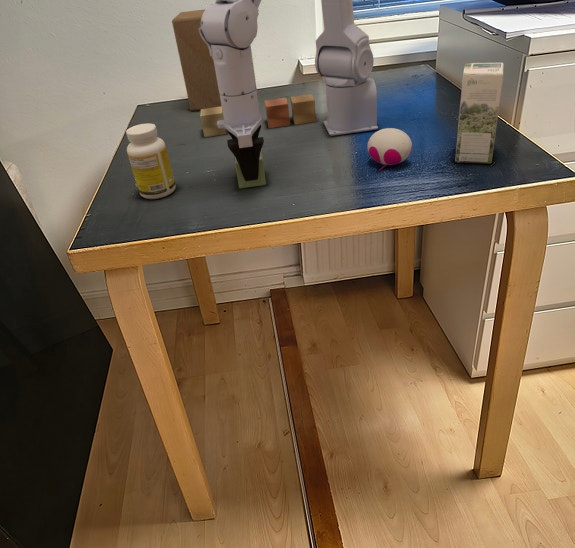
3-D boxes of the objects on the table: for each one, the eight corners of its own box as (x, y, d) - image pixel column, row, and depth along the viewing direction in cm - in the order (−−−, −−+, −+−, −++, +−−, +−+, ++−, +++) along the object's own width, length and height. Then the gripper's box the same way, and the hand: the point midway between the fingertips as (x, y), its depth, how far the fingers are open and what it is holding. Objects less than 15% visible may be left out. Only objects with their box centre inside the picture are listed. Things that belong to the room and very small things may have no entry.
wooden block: (232, 107, 122) (216, 14, 111) (190, 111, 123) (170, 19, 111) (236, 95, 130) (222, 7, 119) (197, 99, 131) (179, 12, 119)
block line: (313, 115, 112) (311, 93, 109) (316, 121, 108) (314, 100, 105) (204, 130, 111) (200, 109, 109) (204, 137, 107) (200, 115, 105)
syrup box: (492, 150, 87) (504, 60, 79) (491, 165, 83) (504, 71, 74) (457, 149, 89) (465, 61, 81) (454, 163, 85) (462, 71, 76)
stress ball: (365, 181, 90) (352, 159, 85) (382, 142, 92) (370, 119, 86) (405, 187, 86) (394, 165, 81) (422, 147, 88) (413, 122, 82)
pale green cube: (264, 173, 89) (260, 149, 87) (266, 184, 86) (262, 159, 83) (238, 177, 89) (234, 152, 87) (239, 188, 85) (234, 163, 83)
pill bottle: (161, 181, 91) (144, 119, 85) (183, 188, 88) (168, 124, 81) (132, 195, 88) (113, 132, 81) (155, 203, 84) (136, 138, 78)
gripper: (212, 81, 85) (226, 159, 92) (211, 108, 73) (227, 195, 81) (255, 76, 85) (265, 154, 93) (260, 101, 73) (272, 189, 81)
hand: (250, 173), depth 87 cm, fingers closed on pale green cube, 4 cm apart
